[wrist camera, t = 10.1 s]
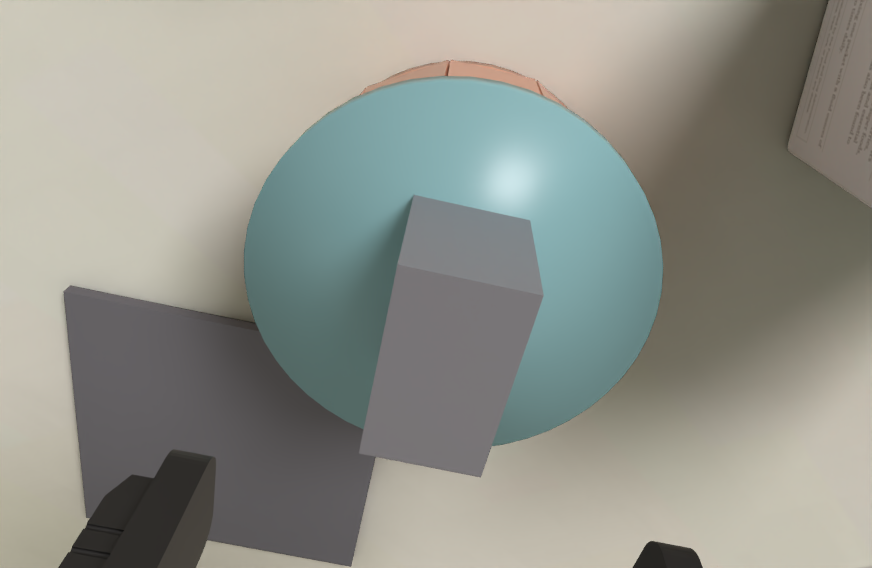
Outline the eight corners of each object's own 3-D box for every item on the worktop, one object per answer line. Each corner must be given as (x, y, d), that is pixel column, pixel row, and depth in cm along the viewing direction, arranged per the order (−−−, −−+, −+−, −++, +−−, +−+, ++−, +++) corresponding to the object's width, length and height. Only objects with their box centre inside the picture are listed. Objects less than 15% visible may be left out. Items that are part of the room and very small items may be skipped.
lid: (241, 393, 22) (185, 505, 17) (268, 27, 16) (192, 63, 12) (579, 461, 22) (603, 583, 18) (726, 133, 16) (812, 203, 12)
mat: (91, 509, 33) (86, 517, 33) (70, 285, 26) (63, 291, 26) (352, 558, 34) (350, 566, 34) (398, 352, 27) (397, 359, 27)
